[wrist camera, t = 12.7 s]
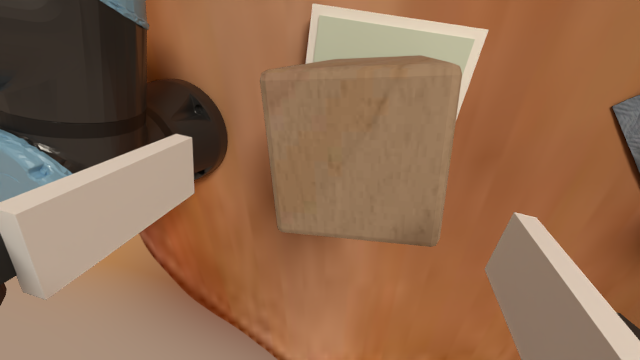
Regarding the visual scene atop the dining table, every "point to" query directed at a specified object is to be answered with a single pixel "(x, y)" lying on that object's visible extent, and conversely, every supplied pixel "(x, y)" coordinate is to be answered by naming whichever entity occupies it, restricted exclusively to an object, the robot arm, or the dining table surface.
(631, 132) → the stuffed giraffe
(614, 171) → the dining table surface
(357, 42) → the picture frame
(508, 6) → the dining table surface
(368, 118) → the wooden block
